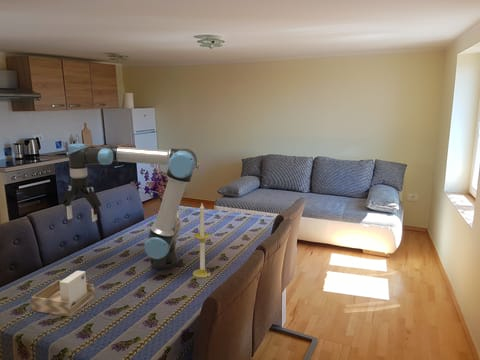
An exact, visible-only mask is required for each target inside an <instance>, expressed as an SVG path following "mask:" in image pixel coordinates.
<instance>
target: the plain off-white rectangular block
mask: <svg viewBox="0 0 480 360" xmlns="http://www.w3.org/2000/svg"><path fill="white" fill-rule="evenodd" d="M86 275H87V274H86V271H84V270H76V271H74V272H73V273H71V274H69V275H68V276H67V277H65V278H63V279H61V280H62V281H60V282H59V283H60V294H61V301H66V302H70V307H72V306H73V305H74V304H76V303H77V302H78V301H79V300H81V299H82V298H83V297H85V296H86V295H87V286H86V283H87V277H86Z"/></svg>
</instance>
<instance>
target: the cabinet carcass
mask: <svg viewBox="0 0 480 360" xmlns="http://www.w3.org/2000/svg"><path fill="white" fill-rule="evenodd" d="M62 280H63V279H57V280H55V281H54V282H52V283H51V284H49V285H47V286H46V287H44V288H43V289H41V290H39V291H38V292H36V293H35V294H33V295H32V296H30V303H31V312H32V311H33V312H38V313H39V312H40V313H47V314H52V315H59V316H62V317H63V316H64V317H71V316H73V315H74V314H75V313H76V312H78V311H79V310H80V309H82V308H83V307H84V306H85V305H86V304H88V303H90V301H91V300H93V299H94V298H95V287H94V284H93V283H87V282H86V286H87V295H86V296H85V297H83V298H82V299H81V300H79V301H78V302H77V303H76V304H74V305H73V306H72V307H70V302H66V301H61V294H60V283H59V282H60V281H62Z"/></svg>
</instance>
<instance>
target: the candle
mask: <svg viewBox="0 0 480 360" xmlns="http://www.w3.org/2000/svg"><path fill="white" fill-rule="evenodd" d="M193 238H194V239H198V240H199V268H198V269H195V270H193V272H192V276H193V275H194V276H193V277H195V276H196V277H195V278H197V277H206V278H208V277H207V276H209V277H211V276H210V274H209V273H208V274H207V271H206V270H207V268H206V258H205V257H206V253H205V252H206V243H205V242H206V241H205V240H206V239H210V238H211V234H210V233H208V232H205V206H204V204H203V202H201V205H200V207H199V232H197V233H195V234H194V235H193Z"/></svg>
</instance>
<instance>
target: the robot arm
mask: <svg viewBox="0 0 480 360" xmlns="http://www.w3.org/2000/svg"><path fill="white" fill-rule="evenodd" d="M67 149H68V163H69V176H70V185H66V186H65V192H64V194H63V197H62V200H61V202H60V203H61V205H64V206H65V213H66V215H67V216H66V217H67V218H66V219H67V220H71V219H73V206H72V204H71V203H72V202H73V201H74V200H75V199H76V197H82V198H85V200H86V201H87V202H88V203H89V204H90V206H91V210H90V211H91V222H92V223H93V222H94V223H95V222H96V221H97V220H98V214H99V212H98V211H99V209H98V208H99V207H101V206H102V203H101V201H100V199H99V197H98V195H97V193H96V191H95V187H94V186H91V187H89V178H88V165H102V166H107V165H111V164H112V163H113V162H124V163H136V164H148V165H160V166H161V165H162V166H167V171H166V177H167V179H168V180H167V183H166V186H165V189H164V192H163V197H162V199H161V203H160V206H159V209H158V210H159V211H158V213H157V217H156V220H155V222H154V223H152V225H151V227H150V229H149V232H148V236H147V239H146V241H144V247H143V248H144V252H145V253H146V255H147V256H148V257H150V260H149V266H150V268H152V269H154V270H158V271H159V270H160V271H162V270H171V269H173V268H176V267H177V266H179V263H180V261H179V256H178V254H177V251H176V235H175V234H176V233H175V232H176V231H175V230H176V227H175V221H176V218H177V215H178V213H179V212H178V211H179V208H180V204H181V201H182V199H183V195H184V192H185V188H186V186H187V185H188V184H189V183H190V182H191V180H192V177H193V173H194V170H195V168H196V167H197V164H198V158H197V154H195V152H194V151H193V150H191V149H189V148H170V149H168V150H167V149H165V150H164V149H156V148H155V149H154V148H144V147H143V148H142V147H130V146H129V147H128V146H117V145H113V144H107V145H105V146H102V147H98V148H89V147H88V148H87V146H86V144H85V143H71V144H69V145H68V148H67Z"/></svg>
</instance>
